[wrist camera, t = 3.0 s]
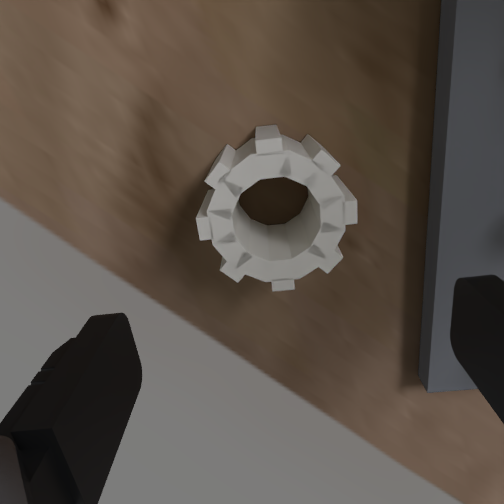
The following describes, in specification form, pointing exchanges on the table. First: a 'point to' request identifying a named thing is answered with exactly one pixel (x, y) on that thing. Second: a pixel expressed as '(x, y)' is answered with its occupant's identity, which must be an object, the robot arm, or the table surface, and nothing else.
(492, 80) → the gear board
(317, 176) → the ivory gear
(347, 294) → the table surface
